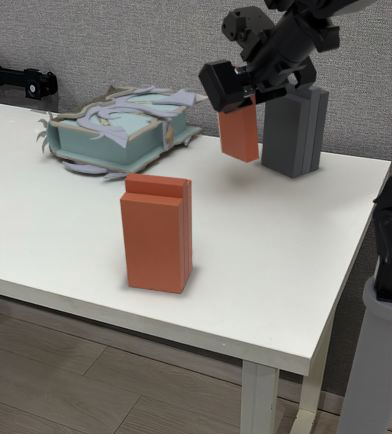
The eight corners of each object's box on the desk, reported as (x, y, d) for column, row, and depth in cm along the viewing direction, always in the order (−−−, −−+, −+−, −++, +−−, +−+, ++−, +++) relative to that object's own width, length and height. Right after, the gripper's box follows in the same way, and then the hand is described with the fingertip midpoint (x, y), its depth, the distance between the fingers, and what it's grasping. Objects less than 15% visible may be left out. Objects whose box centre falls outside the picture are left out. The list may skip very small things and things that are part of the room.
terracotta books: (192, 269, 75) (191, 171, 66) (181, 294, 70) (178, 192, 61) (142, 262, 76) (135, 165, 67) (128, 286, 72) (118, 186, 63)
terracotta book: (259, 158, 88) (253, 69, 80) (246, 163, 88) (239, 74, 79) (233, 147, 93) (225, 63, 85) (221, 152, 93) (212, 67, 84)
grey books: (318, 169, 99) (330, 84, 90) (292, 178, 96) (302, 92, 87) (286, 155, 104) (294, 74, 95) (260, 164, 101) (266, 81, 92)
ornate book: (122, 121, 121) (26, 166, 100) (118, 73, 115) (15, 110, 94) (214, 139, 112) (130, 192, 92) (216, 88, 106) (127, 132, 86)
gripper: (312, -22, 77) (253, 52, 91) (207, -7, 68) (159, 72, 82) (347, 52, 78) (283, 114, 91) (246, 76, 69) (192, 141, 83)
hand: (231, 109), depth 87 cm, fingers closed on terracotta book, 3 cm apart
